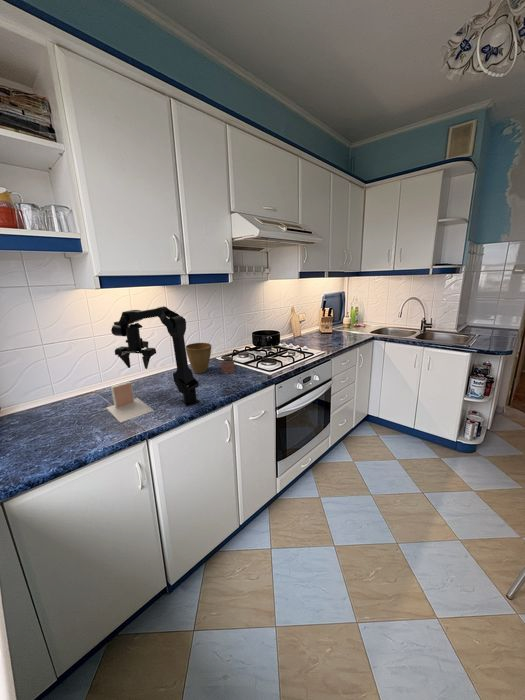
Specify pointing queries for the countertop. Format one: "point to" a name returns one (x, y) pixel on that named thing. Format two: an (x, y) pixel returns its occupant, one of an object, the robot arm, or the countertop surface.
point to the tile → (122, 394)
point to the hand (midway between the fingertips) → (137, 368)
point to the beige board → (130, 410)
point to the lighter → (227, 365)
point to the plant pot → (199, 356)
